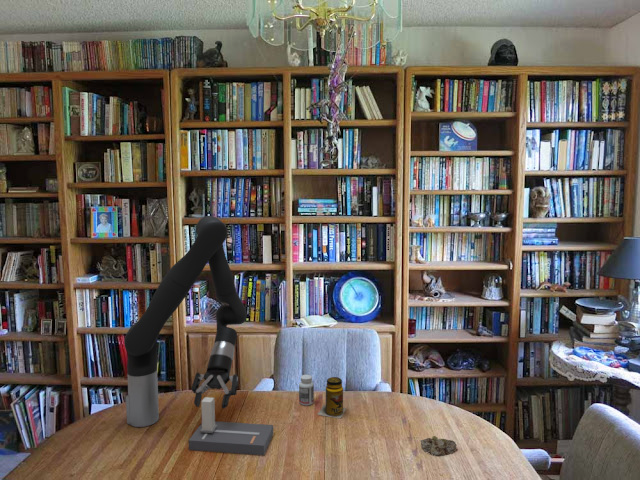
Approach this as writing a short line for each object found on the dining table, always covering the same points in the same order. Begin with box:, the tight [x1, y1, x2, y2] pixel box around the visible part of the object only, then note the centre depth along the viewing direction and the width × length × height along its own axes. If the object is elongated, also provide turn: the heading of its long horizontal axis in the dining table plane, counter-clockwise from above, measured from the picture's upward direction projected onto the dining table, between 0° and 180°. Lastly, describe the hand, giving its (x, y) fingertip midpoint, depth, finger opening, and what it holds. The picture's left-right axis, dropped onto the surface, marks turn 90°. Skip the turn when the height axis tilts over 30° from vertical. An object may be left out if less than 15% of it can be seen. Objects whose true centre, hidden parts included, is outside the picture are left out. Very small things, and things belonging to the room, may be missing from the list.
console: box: [188, 420, 274, 456], centre depth 143 cm, size 23×12×3 cm, turn 83°
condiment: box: [317, 376, 347, 419], centre depth 161 cm, size 7×8×12 cm
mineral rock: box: [419, 435, 458, 457], centre depth 139 cm, size 11×4×8 cm
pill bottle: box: [298, 374, 315, 406], centre depth 169 cm, size 5×5×10 cm
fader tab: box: [200, 396, 217, 433], centre depth 143 cm, size 4×4×10 cm
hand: (210, 407), depth 144 cm, fingers open, 8 cm apart
